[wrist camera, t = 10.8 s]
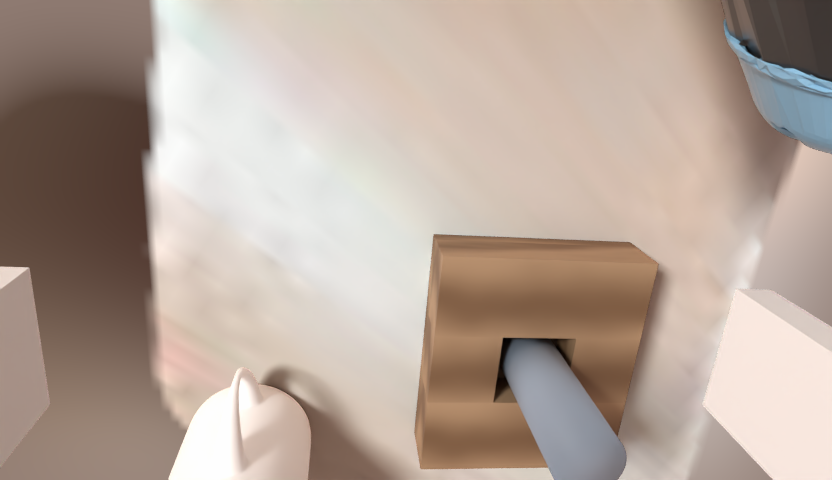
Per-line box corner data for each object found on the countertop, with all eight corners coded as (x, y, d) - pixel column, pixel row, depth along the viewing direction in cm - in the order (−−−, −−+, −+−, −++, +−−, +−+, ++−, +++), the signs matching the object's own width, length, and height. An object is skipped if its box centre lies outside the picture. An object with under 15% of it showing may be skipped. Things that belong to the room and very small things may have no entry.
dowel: (499, 323, 41) (558, 432, 29) (554, 324, 41) (633, 432, 30) (492, 372, 42) (547, 496, 31) (545, 373, 42) (618, 494, 31)
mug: (314, 337, 41) (304, 438, 31) (311, 475, 45) (300, 604, 35) (186, 335, 39) (132, 439, 29) (194, 477, 43) (149, 611, 33)
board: (433, 234, 39) (442, 256, 35) (630, 242, 41) (658, 263, 37) (414, 431, 44) (420, 469, 41) (588, 431, 46) (610, 466, 42)
